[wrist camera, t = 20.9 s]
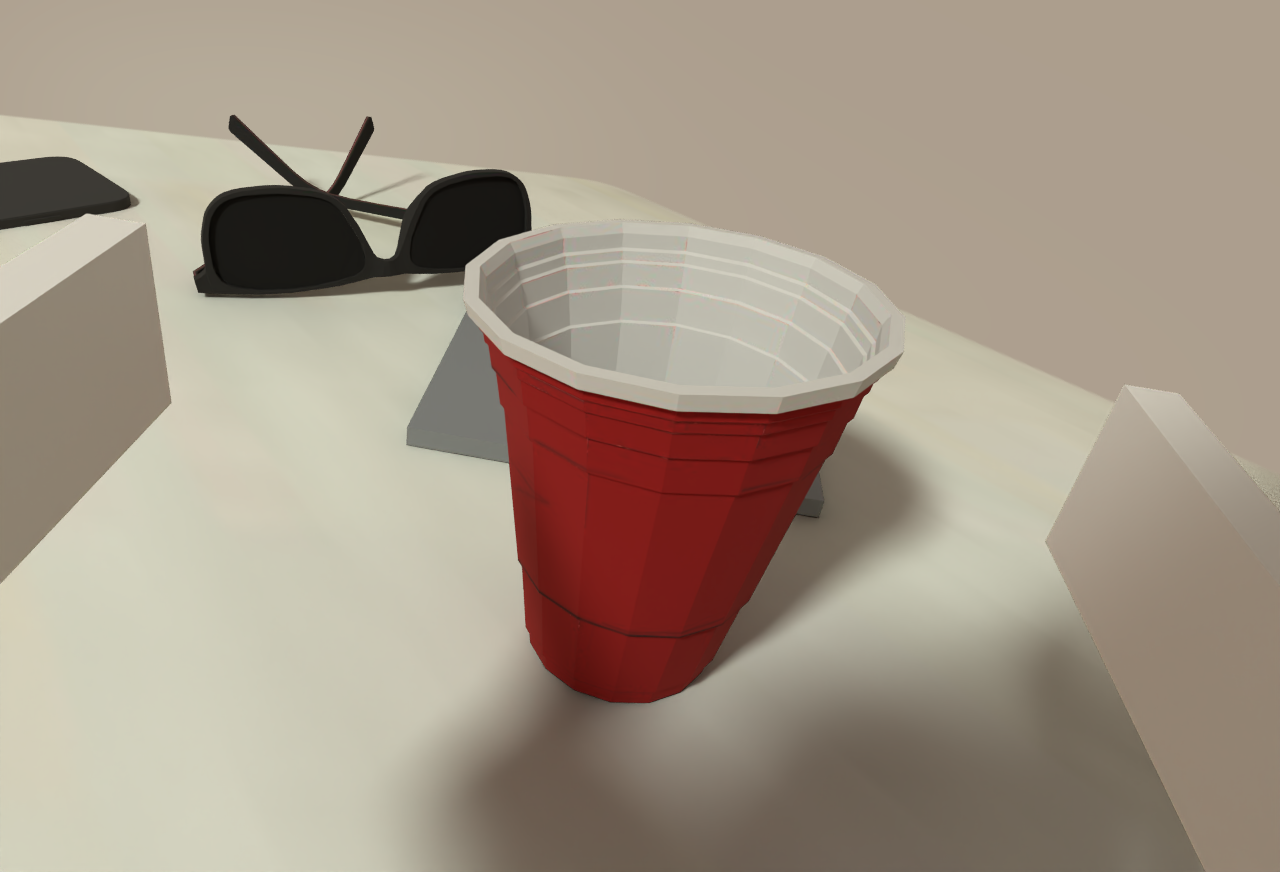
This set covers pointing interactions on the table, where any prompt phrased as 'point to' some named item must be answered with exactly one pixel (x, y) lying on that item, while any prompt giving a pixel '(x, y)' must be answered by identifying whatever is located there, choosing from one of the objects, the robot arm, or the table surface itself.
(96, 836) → the table surface
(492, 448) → the mat
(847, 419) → the plastic cup
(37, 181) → the phone
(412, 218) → the sunglasses
